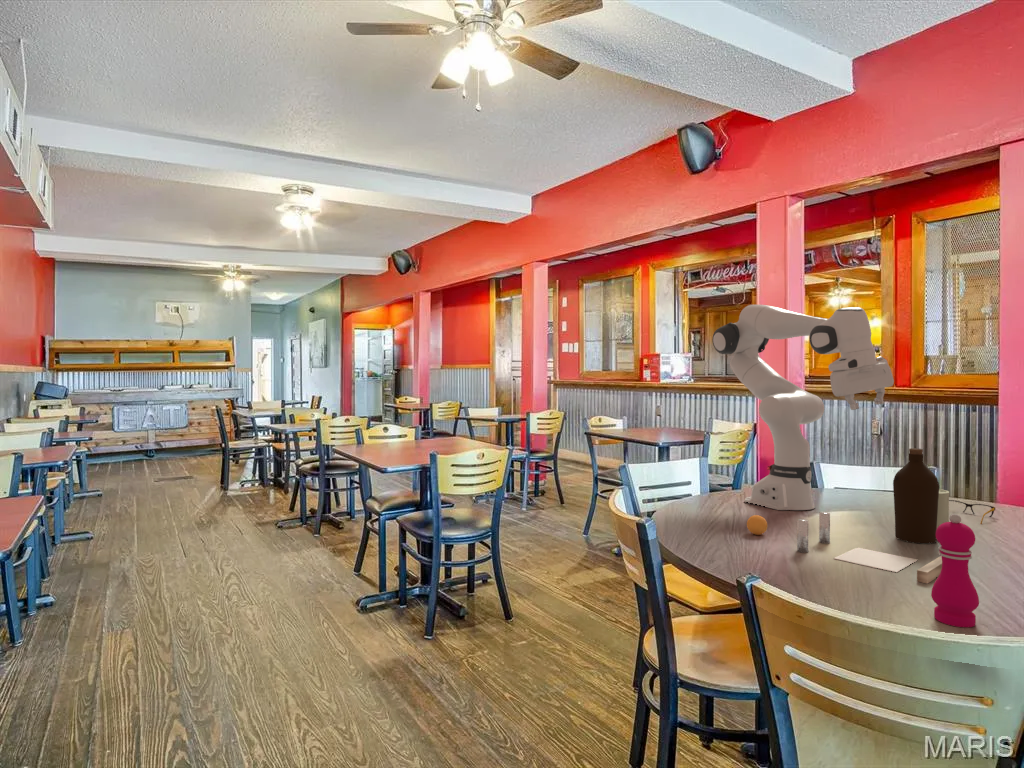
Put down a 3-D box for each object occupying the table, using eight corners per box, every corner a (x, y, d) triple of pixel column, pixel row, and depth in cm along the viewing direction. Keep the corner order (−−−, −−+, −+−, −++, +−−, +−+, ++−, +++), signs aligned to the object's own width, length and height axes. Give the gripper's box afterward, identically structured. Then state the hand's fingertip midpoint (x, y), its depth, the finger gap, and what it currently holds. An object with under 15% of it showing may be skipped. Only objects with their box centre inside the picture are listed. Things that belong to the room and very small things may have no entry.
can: (955, 534, 174) (956, 492, 174) (919, 532, 176) (919, 491, 175) (940, 526, 183) (940, 486, 183) (905, 525, 185) (906, 485, 184)
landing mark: (833, 558, 152) (833, 558, 152) (857, 548, 161) (857, 547, 161) (896, 572, 141) (896, 571, 141) (918, 560, 150) (918, 559, 150)
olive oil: (923, 546, 162) (924, 452, 161) (884, 537, 171) (884, 448, 171) (947, 541, 167) (948, 449, 166) (907, 532, 176) (908, 445, 176)
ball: (742, 534, 176) (743, 515, 175) (753, 530, 179) (753, 512, 179) (761, 538, 171) (761, 518, 171) (771, 534, 175) (771, 515, 175)
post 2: (817, 542, 167) (817, 512, 167) (821, 540, 169) (821, 511, 168) (827, 544, 165) (827, 514, 165) (831, 542, 167) (831, 513, 166)
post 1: (795, 550, 159) (795, 520, 159) (800, 549, 161) (800, 518, 160) (805, 553, 157) (805, 522, 157) (810, 551, 159) (810, 520, 158)
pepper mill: (931, 610, 119) (931, 508, 119) (977, 618, 115) (978, 512, 115) (930, 623, 113) (931, 515, 113) (980, 632, 109) (980, 520, 109)
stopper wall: (916, 581, 136) (917, 570, 136) (946, 562, 148) (946, 552, 148) (927, 583, 134) (927, 572, 134) (956, 564, 147) (956, 554, 147)
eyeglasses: (996, 518, 194) (996, 506, 194) (981, 526, 185) (981, 512, 185) (943, 510, 205) (943, 498, 205) (927, 517, 196) (927, 504, 196)
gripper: (876, 356, 188) (884, 401, 187) (823, 366, 181) (832, 412, 181) (894, 354, 181) (903, 400, 181) (840, 364, 175) (849, 412, 175)
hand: (867, 406), depth 181 cm, fingers open, 8 cm apart
